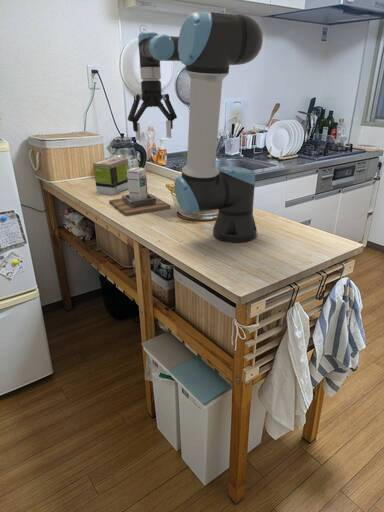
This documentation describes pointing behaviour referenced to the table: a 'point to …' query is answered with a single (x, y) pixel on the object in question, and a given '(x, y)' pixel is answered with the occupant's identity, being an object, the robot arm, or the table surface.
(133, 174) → the syrup box
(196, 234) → the table surface
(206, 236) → the table surface
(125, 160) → the tea box
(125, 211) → the wooden tray on board
